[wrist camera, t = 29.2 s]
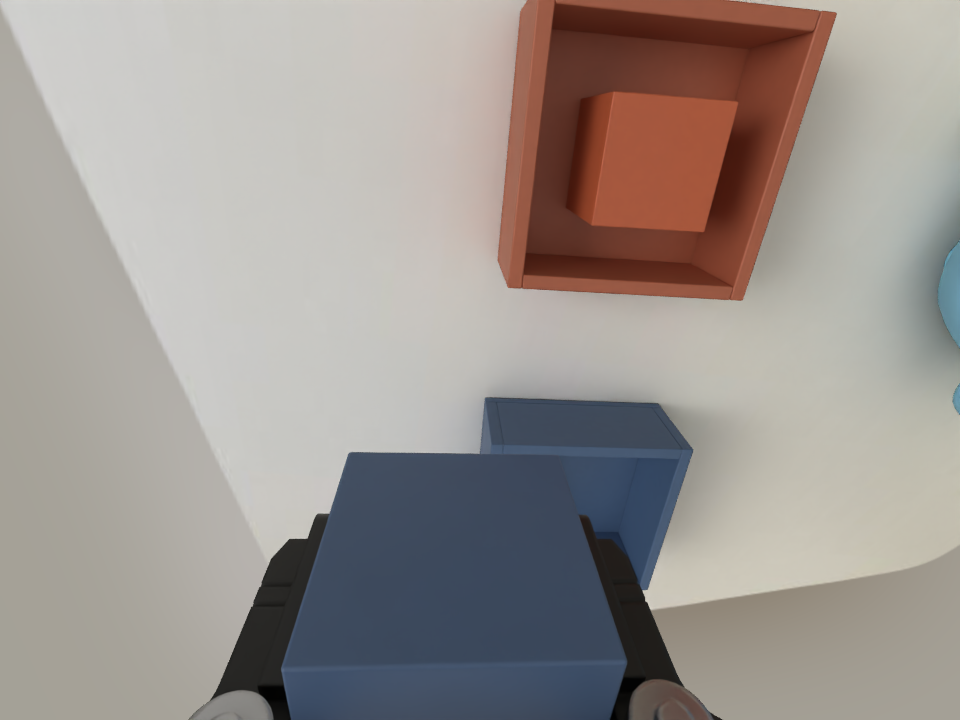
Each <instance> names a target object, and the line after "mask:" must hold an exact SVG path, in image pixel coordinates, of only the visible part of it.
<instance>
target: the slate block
mask: <svg viewBox="0 0 960 720" xmlns="http://www.w3.org/2000/svg"><path fill="white" fill-rule="evenodd" d="M626 666H627V659H626V656H625V653H624V650H623V647H622V644H621V641H620V638H619V635H618V632H617V629H616V626H615V623H614V620H613V617H612V614H611V611H610V608H609V605H608V602H607V599H606V596H605V593H604V590H603V587H602V584H601V581H600V578H599V575H598V572H597V569H596V566H595V563H594V560H593V557H592V554H591V551H590V548H589V545H588V542H587V539H586V536H585V533H584V530H583V527H582V524H581V521H580V518H579V515H578V512H577V509H576V506H575V503H574V500H573V497H572V494H571V491H570V488H569V485H568V482H567V479H566V476H565V473H564V470H563V467H562V464H561V461H560V458H559V456H558V455H535V454H452V453H370V452H351V453H349V454H348V457H347V460H346V463H345V466H344V470H343V473H342V476H341V479H340V482H339V486H338V489H337V492H336V495H335V498H334V501H333V505H332V508H331V511H330V514H329V517H328V521H327V524H326V527H325V530H324V533H323V537H322V540H321V543H320V546H319V549H318V552H317V556H316V559H315V562H314V565H313V568H312V572H311V575H310V578H309V581H308V584H307V588H306V591H305V594H304V597H303V600H302V603H301V607H300V610H299V613H298V616H297V619H296V623H295V626H294V629H293V632H292V635H291V639H290V642H289V645H288V648H287V651H286V654H285V658H284V661H283V664H282V667H281V672H282V677H283V682H284V687H285V692H286V697H287V702H288V707H289V712H290V717H291V720H610V718H611V715H612V712H613V708H614V705H615V702H616V699H617V695H618V692H619V689H620V686H621V682H622V679H623V676H624V673H625V669H626Z"/></svg>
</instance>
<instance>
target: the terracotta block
mask: <svg viewBox="0 0 960 720" xmlns="http://www.w3.org/2000/svg"><path fill="white" fill-rule="evenodd" d="M738 103H739V102H738V101H729V100H717V99H705V98H693V97H681V96H669V95H657V94H645V93H633V92H621V91H613V92H608V93H604V94H600V95H595V96H591V97H587V98H582V99H581V103H580V110H579V117H578V124H577V131H576V138H575V145H574V153H573V160H572V167H571V174H570V181H569V188H568V196H567V203H566V208H567V209H568V210H570V211H571V212H572V213H574V214H575V215H577V216H578V217H580V218H581V219H583V220H584V221H586V222H587V223H589V224H590V225H592V226H604V227H621V228H638V229H655V230H672V231H689V232H704V231H705V227H706V223H707V219H708V216H709V212H710V208H711V204H712V201H713V197H714V193H715V189H716V186H717V182H718V178H719V174H720V171H721V167H722V163H723V159H724V156H725V152H726V148H727V144H728V141H729V137H730V133H731V129H732V126H733V122H734V118H735V114H736V111H737V107H738Z"/></svg>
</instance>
